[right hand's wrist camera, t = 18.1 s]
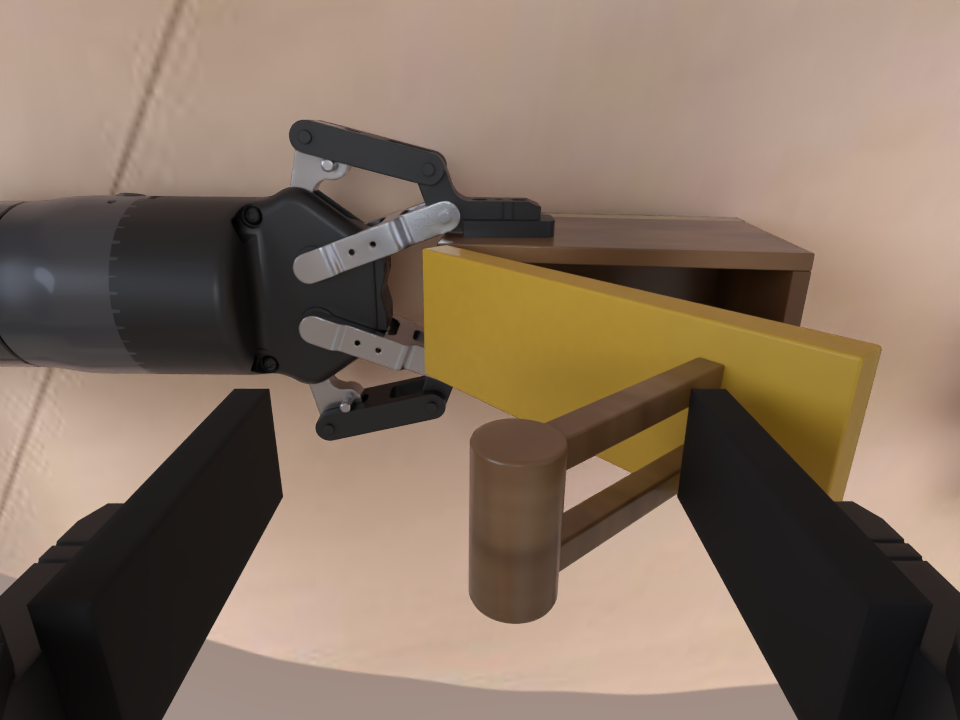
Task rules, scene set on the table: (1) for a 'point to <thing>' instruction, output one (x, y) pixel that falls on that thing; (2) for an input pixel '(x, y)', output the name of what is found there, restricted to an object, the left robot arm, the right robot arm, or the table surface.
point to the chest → (669, 259)
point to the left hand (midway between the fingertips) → (547, 290)
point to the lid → (610, 405)
